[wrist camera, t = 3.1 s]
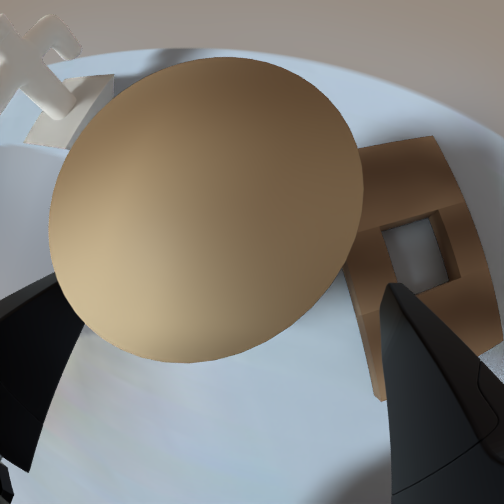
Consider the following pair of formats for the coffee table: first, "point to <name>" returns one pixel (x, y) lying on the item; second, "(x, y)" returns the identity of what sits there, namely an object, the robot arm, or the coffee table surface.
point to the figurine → (50, 81)
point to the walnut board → (447, 235)
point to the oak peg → (205, 209)
